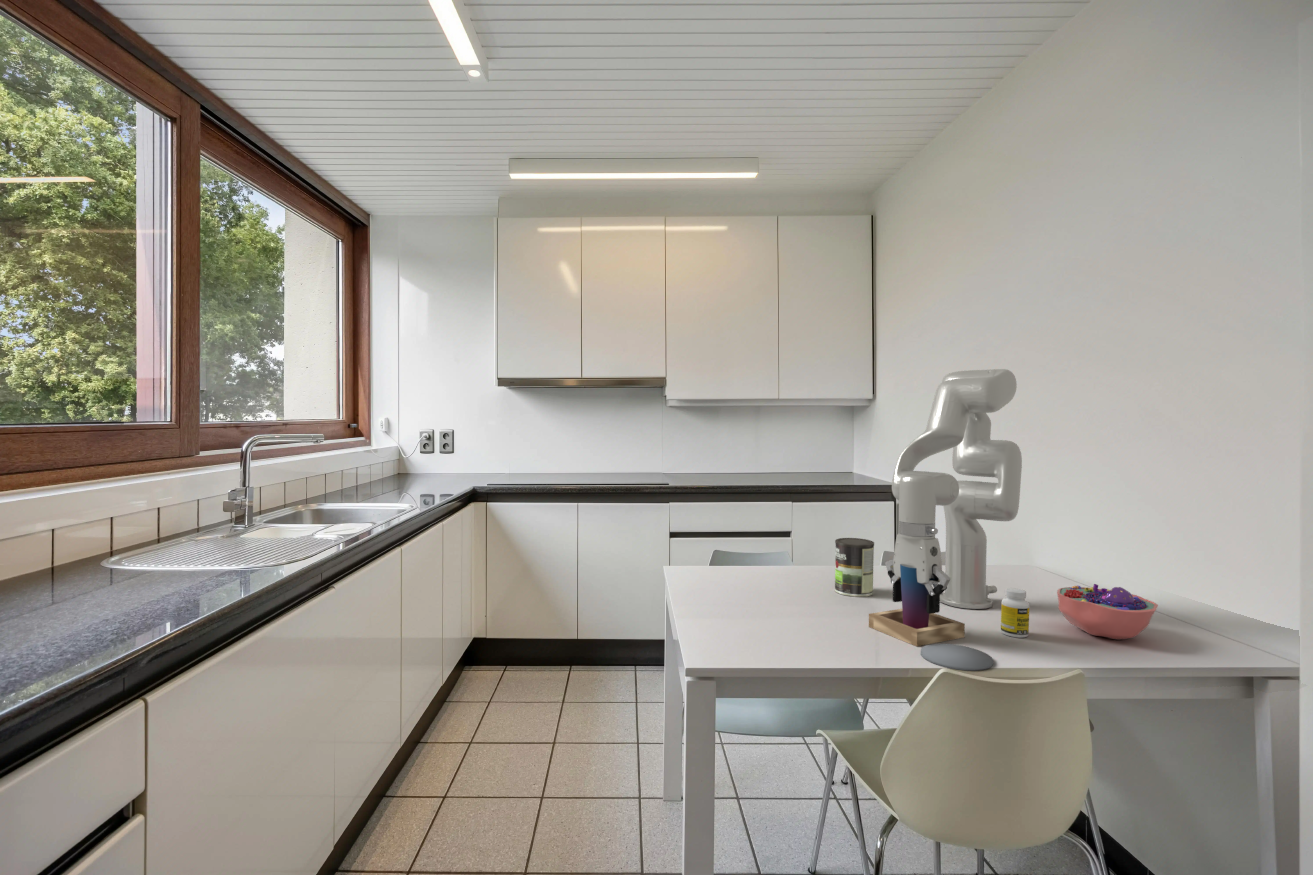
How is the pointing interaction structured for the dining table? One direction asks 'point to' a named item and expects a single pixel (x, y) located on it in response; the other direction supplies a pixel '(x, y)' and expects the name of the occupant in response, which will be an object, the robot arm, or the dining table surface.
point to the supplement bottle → (1015, 613)
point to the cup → (913, 599)
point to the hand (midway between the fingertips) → (915, 606)
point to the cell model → (1106, 611)
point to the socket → (934, 633)
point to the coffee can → (854, 567)
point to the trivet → (956, 657)
